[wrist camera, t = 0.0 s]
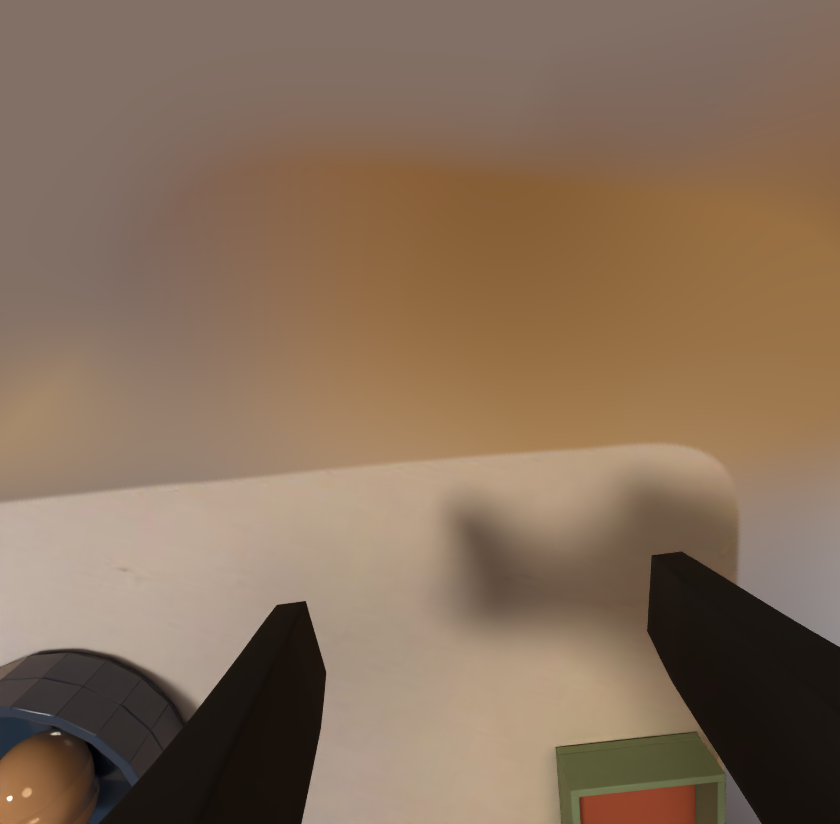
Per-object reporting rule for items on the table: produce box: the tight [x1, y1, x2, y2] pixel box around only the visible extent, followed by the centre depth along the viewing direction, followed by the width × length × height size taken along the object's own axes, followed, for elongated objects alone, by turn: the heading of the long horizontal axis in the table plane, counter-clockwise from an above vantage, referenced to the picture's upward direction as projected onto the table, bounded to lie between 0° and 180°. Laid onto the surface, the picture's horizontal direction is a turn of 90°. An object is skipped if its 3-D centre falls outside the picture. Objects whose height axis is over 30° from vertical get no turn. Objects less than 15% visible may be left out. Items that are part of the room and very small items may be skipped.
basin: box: [0, 652, 184, 824], centre depth 21 cm, size 11×11×4 cm
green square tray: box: [556, 732, 726, 824], centre depth 22 cm, size 7×7×2 cm
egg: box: [0, 728, 100, 824], centre depth 20 cm, size 5×4×4 cm
